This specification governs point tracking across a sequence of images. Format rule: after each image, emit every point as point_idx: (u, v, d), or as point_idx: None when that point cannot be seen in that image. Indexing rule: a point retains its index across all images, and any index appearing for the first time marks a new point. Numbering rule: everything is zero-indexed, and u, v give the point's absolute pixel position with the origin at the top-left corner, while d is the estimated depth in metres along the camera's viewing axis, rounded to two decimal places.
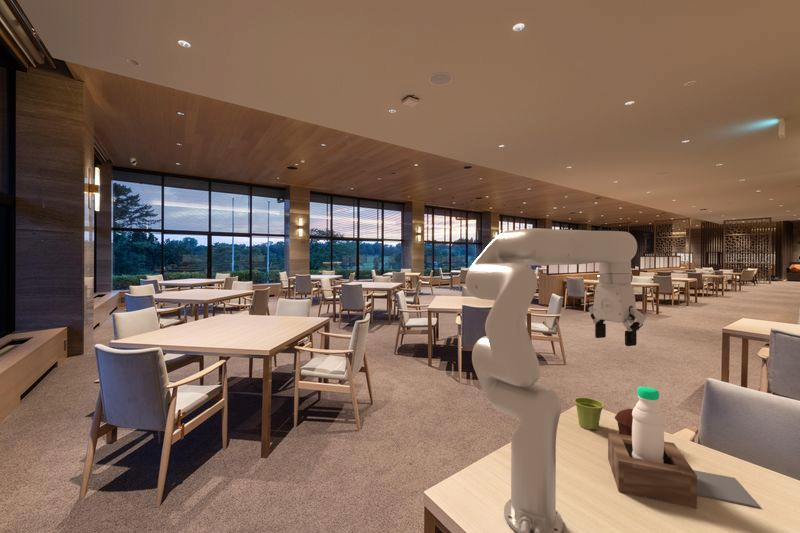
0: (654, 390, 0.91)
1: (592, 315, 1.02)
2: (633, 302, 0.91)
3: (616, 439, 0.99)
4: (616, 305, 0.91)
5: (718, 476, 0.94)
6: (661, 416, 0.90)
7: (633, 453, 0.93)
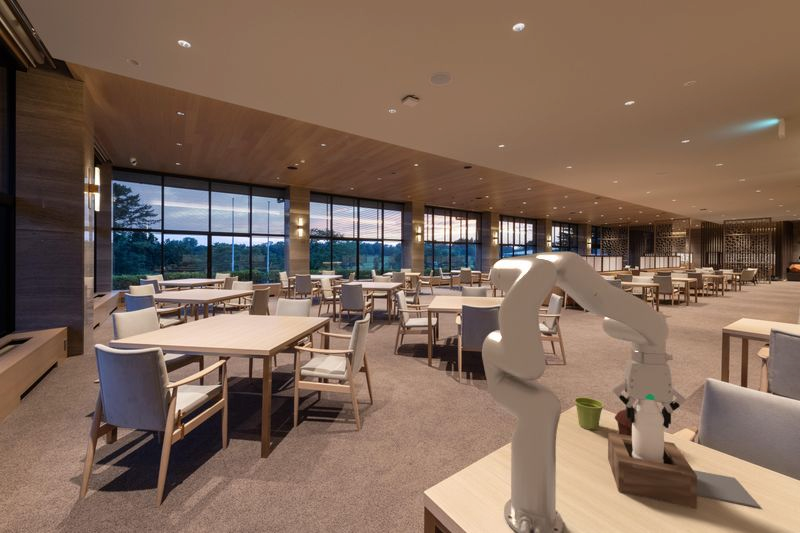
0: None
1: None
2: (627, 377, 0.93)
3: (616, 439, 0.99)
4: None
5: (718, 476, 0.94)
6: (661, 416, 0.90)
7: (633, 453, 0.93)
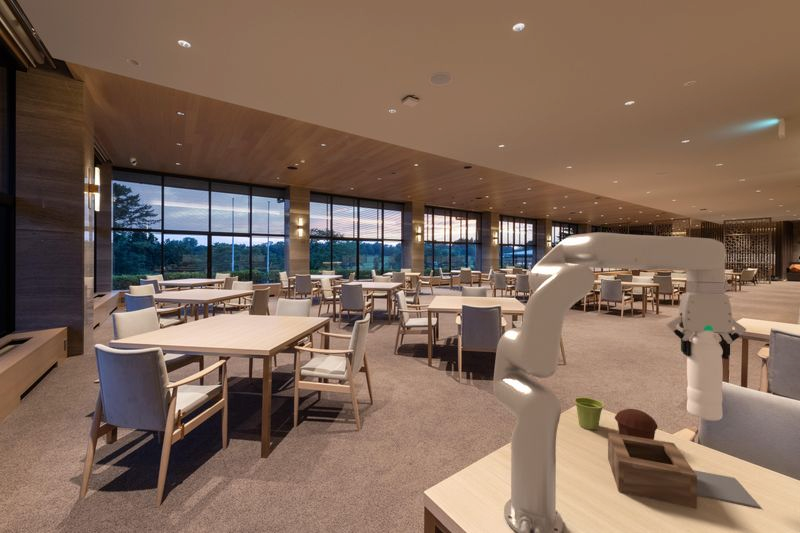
0: None
1: None
2: (683, 310, 0.91)
3: (616, 439, 0.99)
4: None
5: (718, 476, 0.94)
6: (720, 347, 0.87)
7: (689, 388, 0.91)
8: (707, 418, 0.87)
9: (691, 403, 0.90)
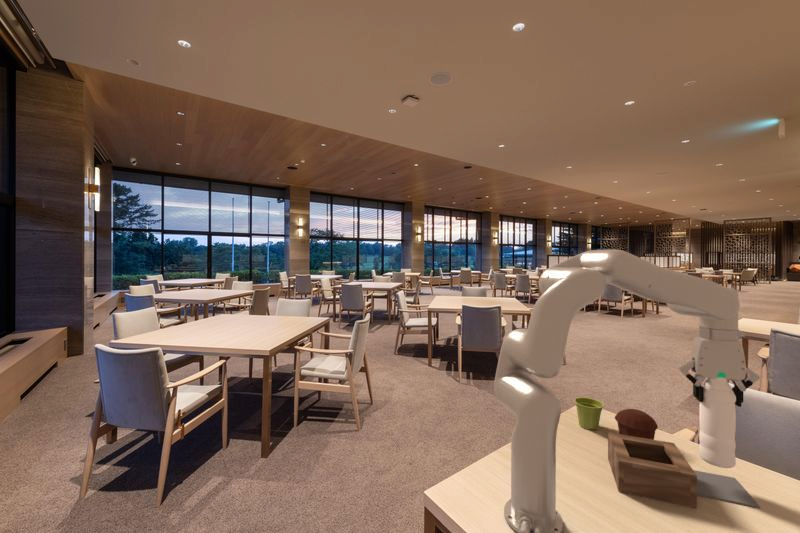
0: None
1: None
2: (695, 355, 0.91)
3: (616, 439, 0.99)
4: None
5: (718, 476, 0.94)
6: (733, 394, 0.87)
7: (701, 433, 0.91)
8: (720, 465, 0.87)
9: (704, 449, 0.90)
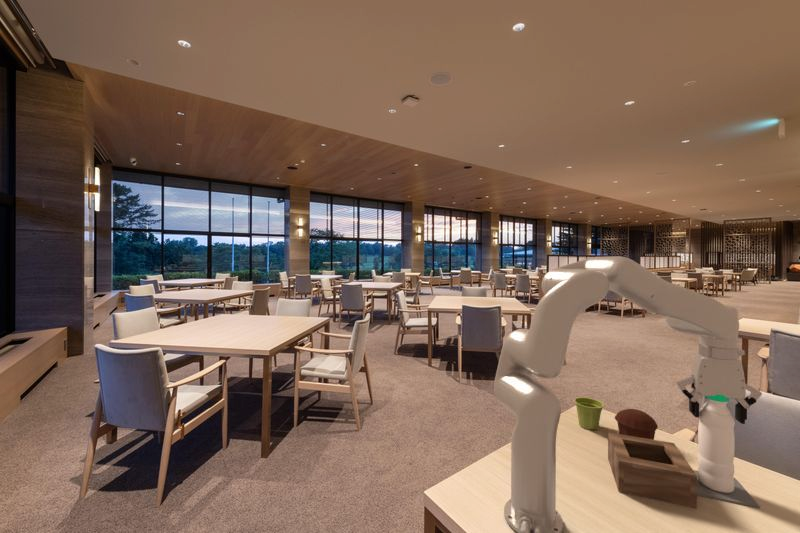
0: None
1: None
2: (695, 373, 0.91)
3: (616, 439, 0.99)
4: None
5: None
6: (732, 418, 0.87)
7: (700, 457, 0.91)
8: (719, 490, 0.87)
9: (703, 473, 0.90)
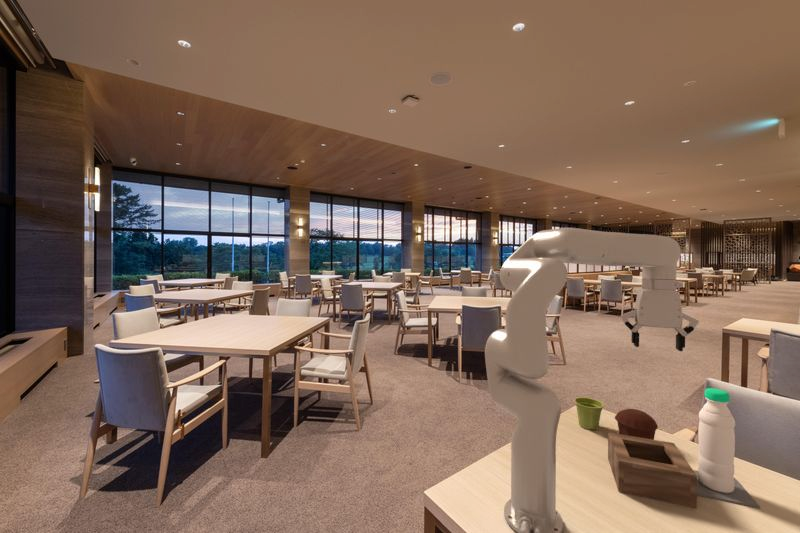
0: (724, 392, 0.88)
1: None
2: (637, 305, 0.95)
3: (616, 439, 0.99)
4: None
5: None
6: (732, 419, 0.87)
7: (700, 457, 0.91)
8: (719, 490, 0.87)
9: (703, 473, 0.90)
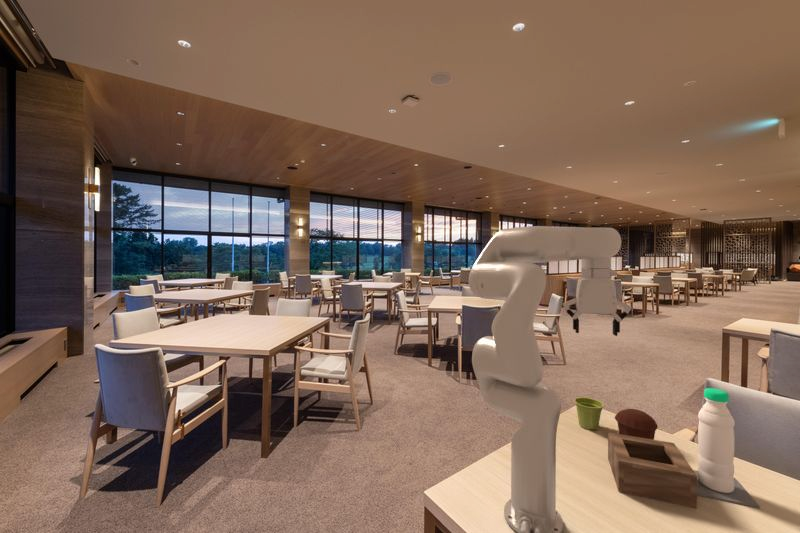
0: (723, 392, 0.89)
1: None
2: (577, 294, 1.00)
3: (616, 439, 0.99)
4: None
5: None
6: (732, 419, 0.87)
7: (700, 457, 0.91)
8: (718, 490, 0.87)
9: (703, 473, 0.90)
